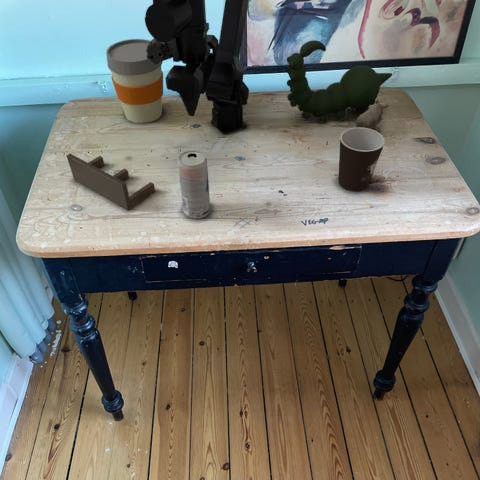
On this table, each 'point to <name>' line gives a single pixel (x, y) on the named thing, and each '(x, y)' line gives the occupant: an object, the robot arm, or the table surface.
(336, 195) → the table surface
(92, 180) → the brown legged board
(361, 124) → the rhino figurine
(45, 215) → the table surface
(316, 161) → the table surface
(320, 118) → the toy figurine
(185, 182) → the energy drink
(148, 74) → the reusable coffee cup
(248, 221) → the table surface
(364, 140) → the coffee mug
